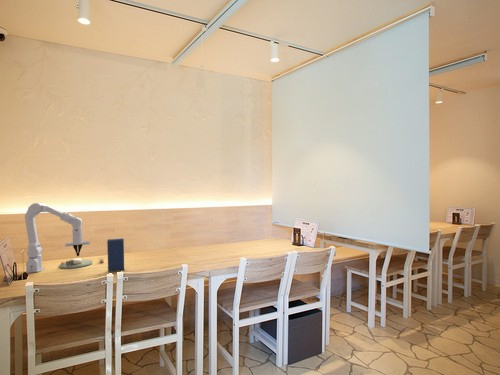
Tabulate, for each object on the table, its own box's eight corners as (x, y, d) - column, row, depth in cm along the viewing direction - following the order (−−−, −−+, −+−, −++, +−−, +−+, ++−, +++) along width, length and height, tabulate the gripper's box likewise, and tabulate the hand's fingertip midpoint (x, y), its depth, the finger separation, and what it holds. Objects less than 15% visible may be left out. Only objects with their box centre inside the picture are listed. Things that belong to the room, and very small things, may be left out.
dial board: (87, 267, 212) (87, 264, 212) (54, 269, 208) (54, 266, 208) (95, 260, 231) (95, 257, 231) (65, 262, 227) (65, 259, 227)
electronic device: (124, 268, 209) (123, 238, 208) (124, 270, 204) (123, 239, 203) (108, 269, 205) (107, 239, 205) (107, 272, 201) (107, 240, 200)
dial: (76, 261, 224) (76, 257, 224) (84, 262, 222) (84, 257, 222) (62, 265, 213) (62, 261, 213) (71, 266, 211) (71, 261, 211)
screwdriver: (103, 263, 224) (103, 260, 224) (100, 263, 223) (99, 260, 223) (102, 259, 234) (102, 256, 234) (99, 259, 233) (99, 256, 233)
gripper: (89, 234, 222) (89, 253, 222) (65, 236, 215) (65, 256, 215) (89, 235, 215) (90, 255, 216) (64, 237, 208) (65, 258, 209)
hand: (78, 255), depth 215 cm, fingers closed
